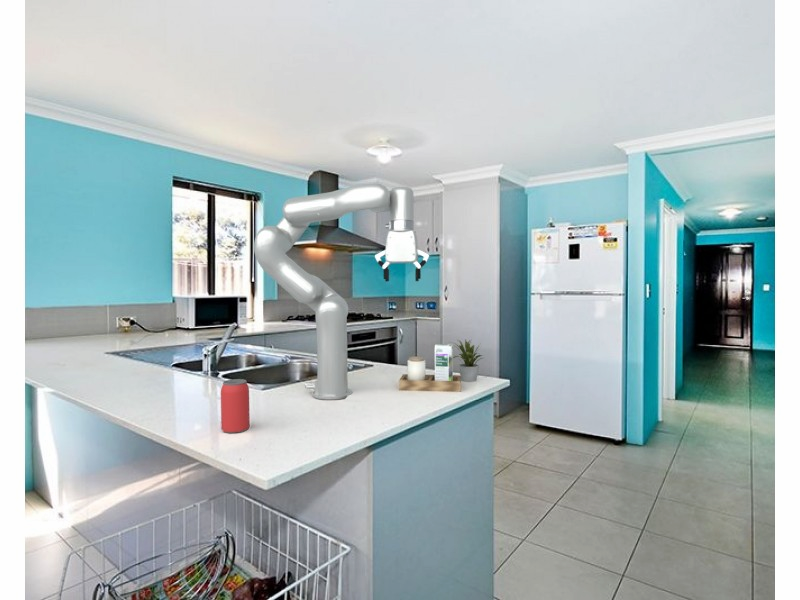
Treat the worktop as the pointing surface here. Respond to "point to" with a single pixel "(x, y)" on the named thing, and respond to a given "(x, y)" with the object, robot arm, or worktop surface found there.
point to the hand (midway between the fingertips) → (402, 281)
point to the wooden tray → (430, 384)
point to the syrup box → (444, 362)
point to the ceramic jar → (416, 368)
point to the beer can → (235, 406)
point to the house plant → (468, 362)
